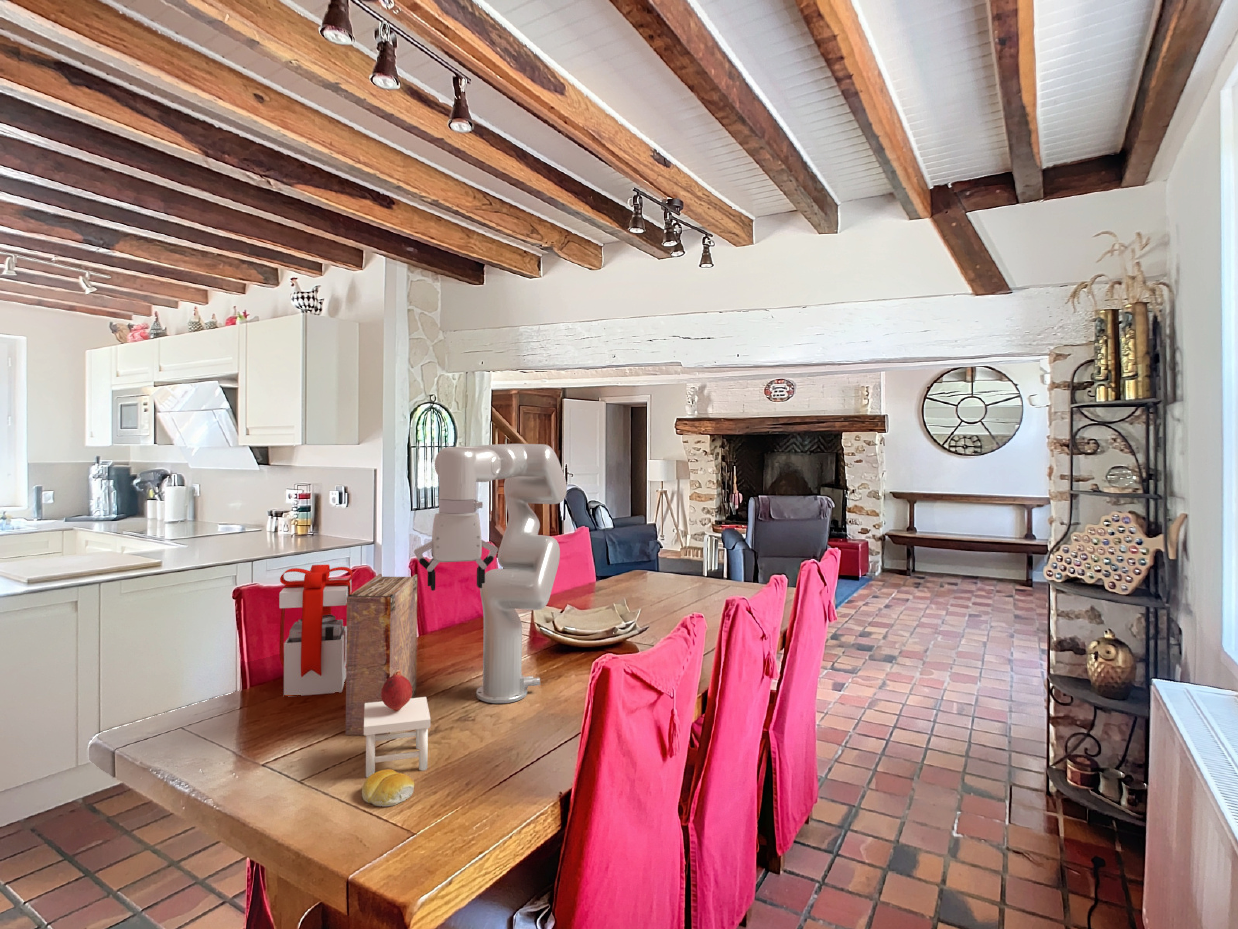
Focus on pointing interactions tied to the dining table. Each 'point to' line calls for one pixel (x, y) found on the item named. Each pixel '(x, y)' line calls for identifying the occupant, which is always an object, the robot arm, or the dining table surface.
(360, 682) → the book
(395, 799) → the bread roll
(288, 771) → the dining table surface
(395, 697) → the onion
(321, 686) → the gift wrap
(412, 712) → the stool
